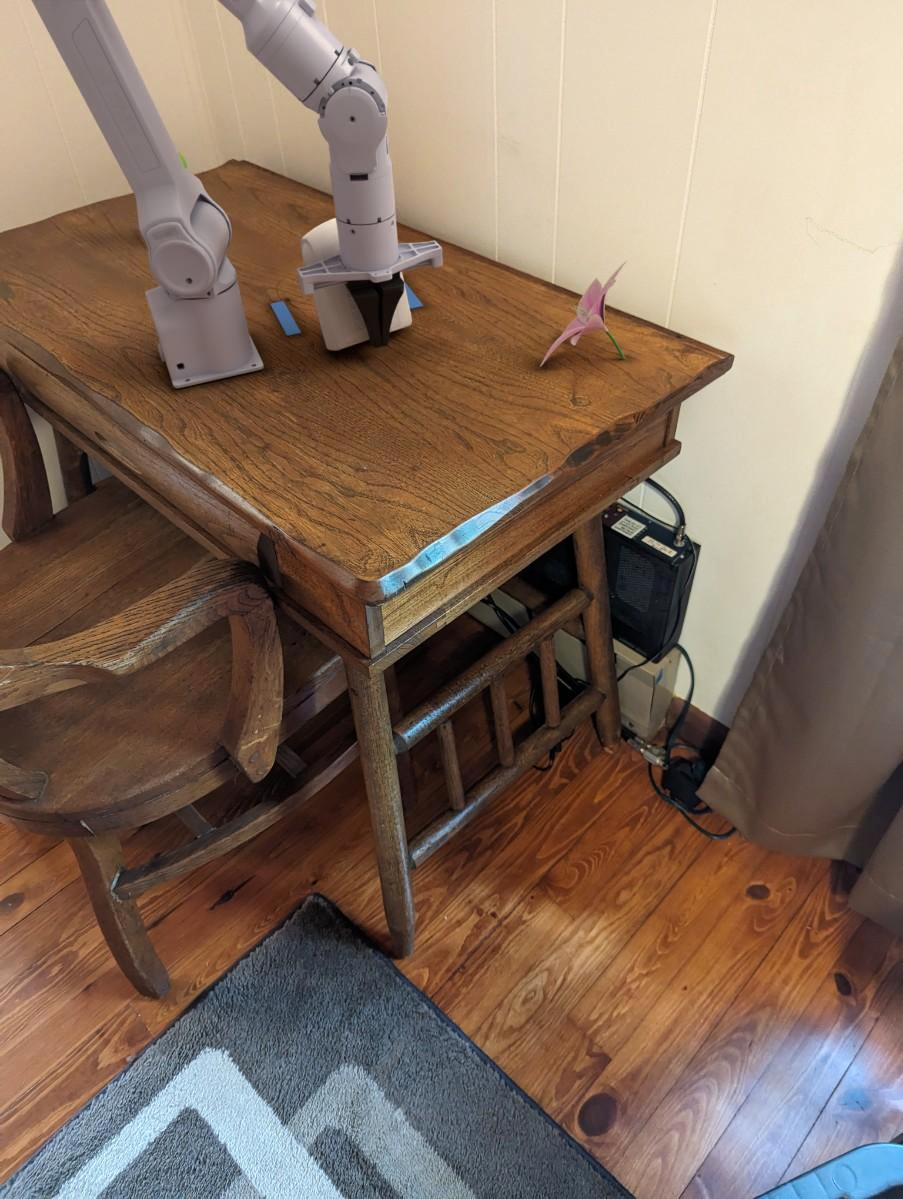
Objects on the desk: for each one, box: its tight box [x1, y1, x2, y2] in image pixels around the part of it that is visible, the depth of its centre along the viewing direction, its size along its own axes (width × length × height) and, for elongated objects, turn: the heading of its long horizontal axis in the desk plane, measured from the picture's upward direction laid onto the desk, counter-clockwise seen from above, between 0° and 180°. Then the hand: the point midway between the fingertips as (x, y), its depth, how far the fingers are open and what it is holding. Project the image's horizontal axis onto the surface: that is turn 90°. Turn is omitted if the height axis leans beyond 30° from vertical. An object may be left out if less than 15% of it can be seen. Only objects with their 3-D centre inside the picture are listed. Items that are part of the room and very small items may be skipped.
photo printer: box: [300, 217, 413, 352], centre depth 92 cm, size 10×4×12 cm, turn 123°
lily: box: [539, 260, 628, 368], centre depth 89 cm, size 12×12×10 cm
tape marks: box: [269, 281, 424, 337], centre depth 101 cm, size 16×8×1 cm, turn 112°
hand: (378, 342), depth 92 cm, fingers closed
